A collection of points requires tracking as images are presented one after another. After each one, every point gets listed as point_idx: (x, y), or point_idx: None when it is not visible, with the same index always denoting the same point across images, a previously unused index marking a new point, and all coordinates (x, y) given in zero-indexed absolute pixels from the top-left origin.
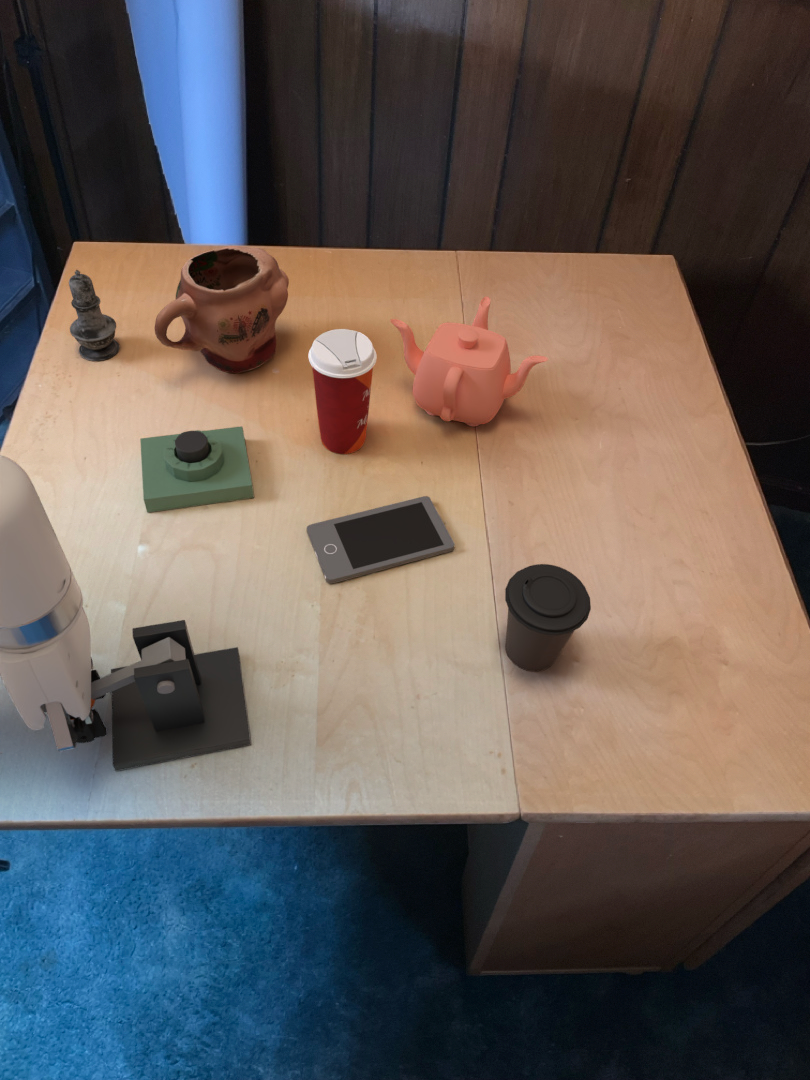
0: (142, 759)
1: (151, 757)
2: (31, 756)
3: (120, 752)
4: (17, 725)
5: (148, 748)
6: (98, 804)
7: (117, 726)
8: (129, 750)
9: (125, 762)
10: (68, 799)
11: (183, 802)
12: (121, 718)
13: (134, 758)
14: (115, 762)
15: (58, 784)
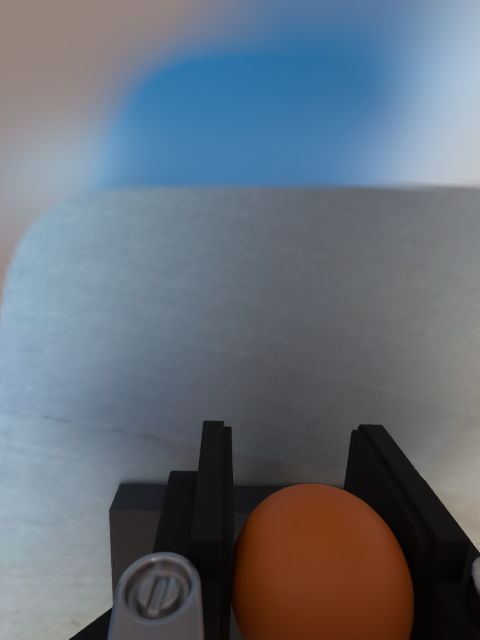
0: (113, 579)
1: (113, 600)
2: (223, 260)
3: (148, 530)
4: (351, 216)
5: None
6: (28, 438)
7: (236, 527)
8: (147, 553)
9: (111, 541)
10: (56, 364)
11: (6, 614)
12: None
13: (120, 562)
14: (118, 516)
15: (109, 338)
